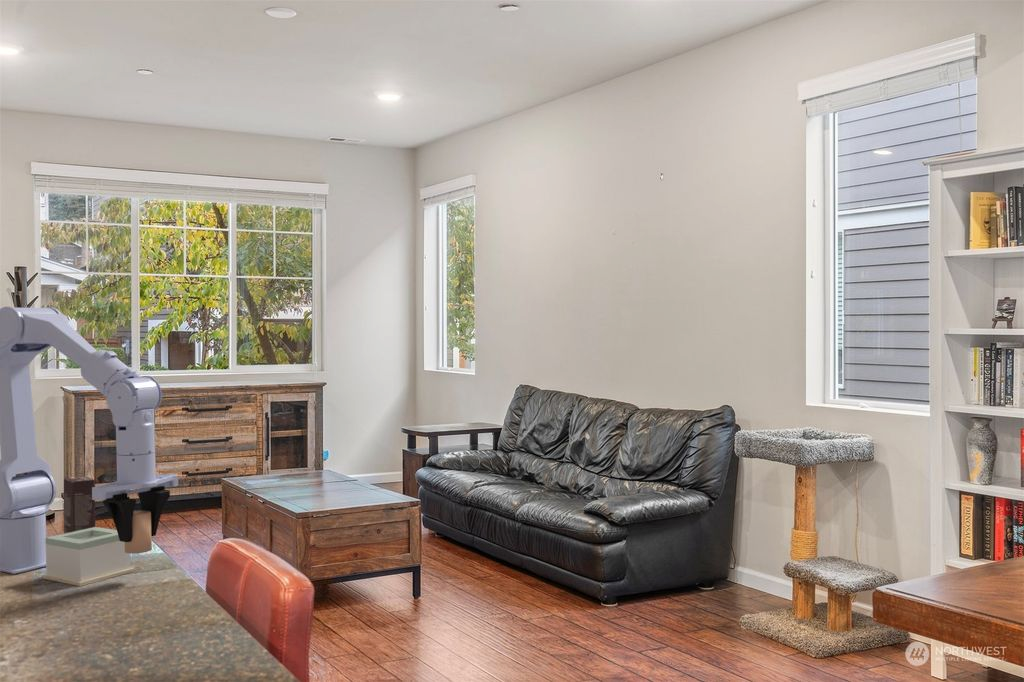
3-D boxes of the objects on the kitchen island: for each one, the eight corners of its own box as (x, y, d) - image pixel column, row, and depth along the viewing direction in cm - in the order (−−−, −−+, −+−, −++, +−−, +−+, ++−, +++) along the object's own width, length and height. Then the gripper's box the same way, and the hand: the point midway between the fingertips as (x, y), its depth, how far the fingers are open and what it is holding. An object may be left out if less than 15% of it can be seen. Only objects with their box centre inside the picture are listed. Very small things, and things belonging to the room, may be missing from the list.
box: (97, 542, 176) (95, 478, 176) (71, 546, 173) (70, 481, 173) (88, 537, 181) (86, 475, 181) (63, 541, 178) (61, 478, 178)
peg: (119, 551, 149) (118, 514, 149) (140, 546, 152) (140, 509, 152) (135, 554, 147) (134, 516, 147) (157, 549, 150) (156, 511, 150)
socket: (41, 578, 151) (40, 538, 151) (97, 564, 160) (96, 526, 160) (79, 586, 146) (78, 544, 146) (135, 571, 155) (134, 531, 155)
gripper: (111, 460, 141) (113, 550, 141) (189, 448, 153) (191, 531, 154) (82, 457, 145) (84, 545, 145) (161, 446, 157) (163, 527, 157)
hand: (137, 538), depth 149 cm, fingers closed on peg, 4 cm apart
